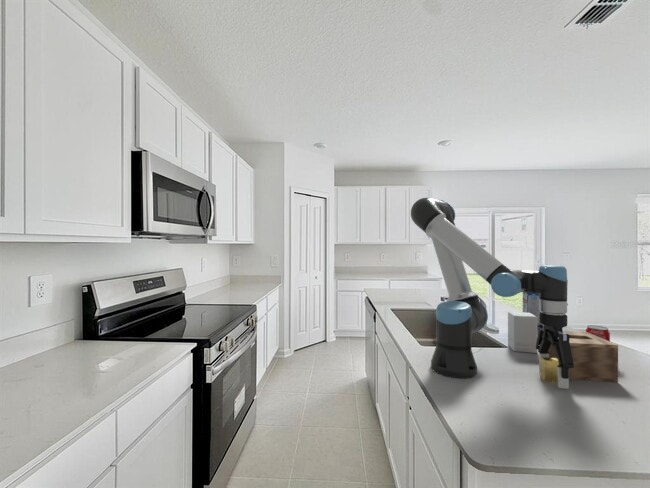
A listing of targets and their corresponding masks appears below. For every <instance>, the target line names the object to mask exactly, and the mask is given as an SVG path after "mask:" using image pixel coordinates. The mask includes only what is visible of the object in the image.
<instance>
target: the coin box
mask: <svg viewBox="0 0 650 488" xmlns="http://www.w3.org/2000/svg"><path fill="white" fill-rule="evenodd" d="M563 333H564V334H569V343H570V348H571V353H572V358H573V364H574V368H569V380H577V381H589V382H590V381H591V382H605V383H606V382H607V383H619V345H618V344H616V343H613V342H611V341H610V342H609V341H607V340H605V339H602V338H600V337H598V336H595V335H593V334H591V333H588V332H586V331H575V330H574V331H573V330H572V331H570V330H563ZM539 346H540V345H539ZM548 351H549V353H546V354H549V358H557V355H556V352H555V348H554V346H553V345H552V344H551V345H550V348H549V350H548ZM539 354H540V353H539V352H538V355H539Z"/></svg>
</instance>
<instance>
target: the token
mask: <svg viewBox="0 0 650 488" xmlns="http://www.w3.org/2000/svg"><path fill="white" fill-rule="evenodd" d="M558 365H559V362H558V358H546V357H541V373H540V379H541V380H542V381H543V382H545V383H554V384H555V383H556V384H558V367H557V366H558Z"/></svg>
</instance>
